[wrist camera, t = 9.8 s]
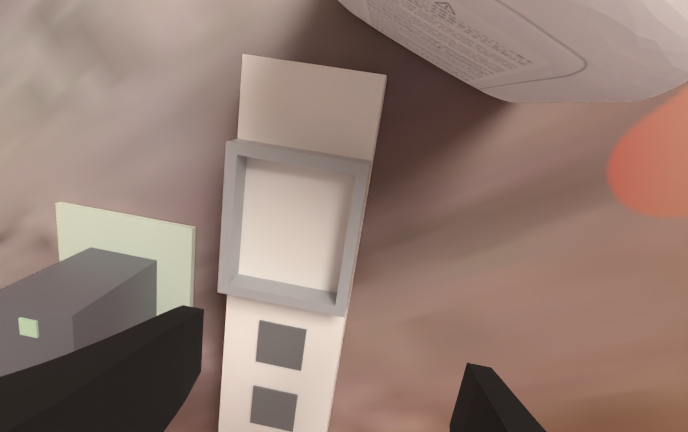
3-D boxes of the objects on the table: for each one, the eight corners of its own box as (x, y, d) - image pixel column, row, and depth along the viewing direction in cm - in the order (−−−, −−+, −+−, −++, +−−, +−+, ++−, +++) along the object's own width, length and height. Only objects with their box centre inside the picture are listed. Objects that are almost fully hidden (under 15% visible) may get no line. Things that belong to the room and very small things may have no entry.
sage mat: (190, 377, 24) (187, 381, 24) (71, 351, 25) (66, 355, 25) (195, 226, 21) (192, 228, 21) (61, 201, 22) (55, 203, 22)
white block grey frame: (325, 446, 24) (313, 504, 21) (233, 425, 25) (206, 478, 21) (387, 78, 18) (385, 72, 15) (262, 60, 19) (231, 50, 15)
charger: (156, 336, 23) (76, 414, 17) (93, 323, 24) (-5, 395, 18) (156, 260, 22) (70, 317, 16) (90, 247, 22) (-19, 298, 16)
